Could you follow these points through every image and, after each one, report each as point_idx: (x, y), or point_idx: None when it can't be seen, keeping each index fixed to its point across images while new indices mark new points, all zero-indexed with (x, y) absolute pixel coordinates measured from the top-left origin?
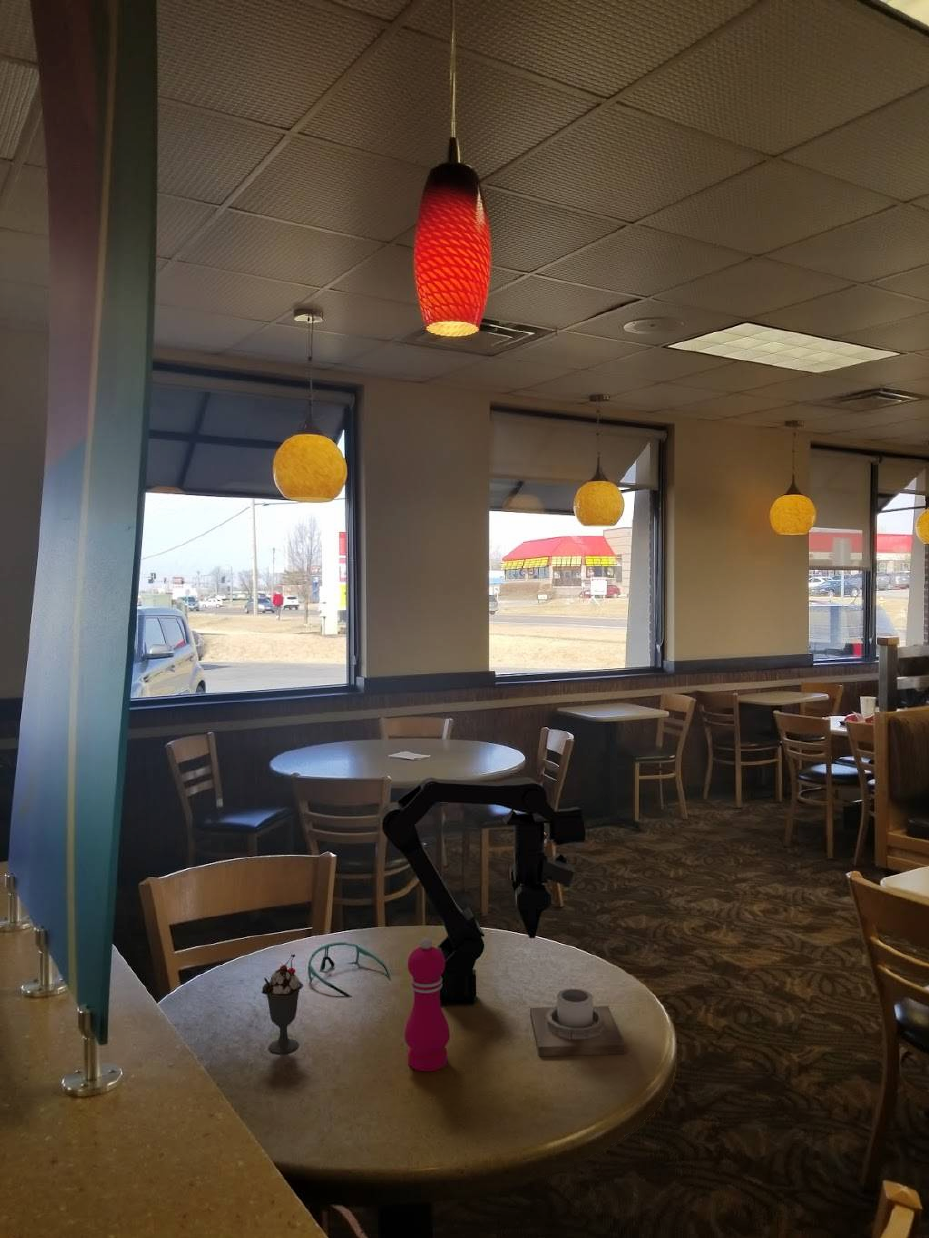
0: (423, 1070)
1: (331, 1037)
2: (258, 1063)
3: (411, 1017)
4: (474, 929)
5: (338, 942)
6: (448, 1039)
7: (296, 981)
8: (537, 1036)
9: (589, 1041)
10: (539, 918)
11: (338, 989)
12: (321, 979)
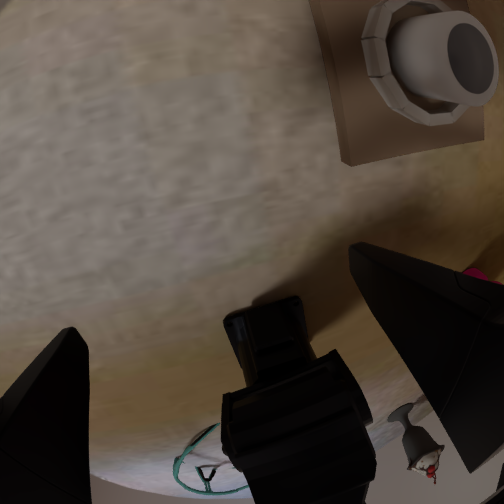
0: None
1: (390, 397)
2: (422, 407)
3: None
4: (368, 442)
5: (192, 491)
6: (497, 282)
7: (434, 457)
8: (460, 141)
9: None
10: (484, 281)
11: None
12: None
